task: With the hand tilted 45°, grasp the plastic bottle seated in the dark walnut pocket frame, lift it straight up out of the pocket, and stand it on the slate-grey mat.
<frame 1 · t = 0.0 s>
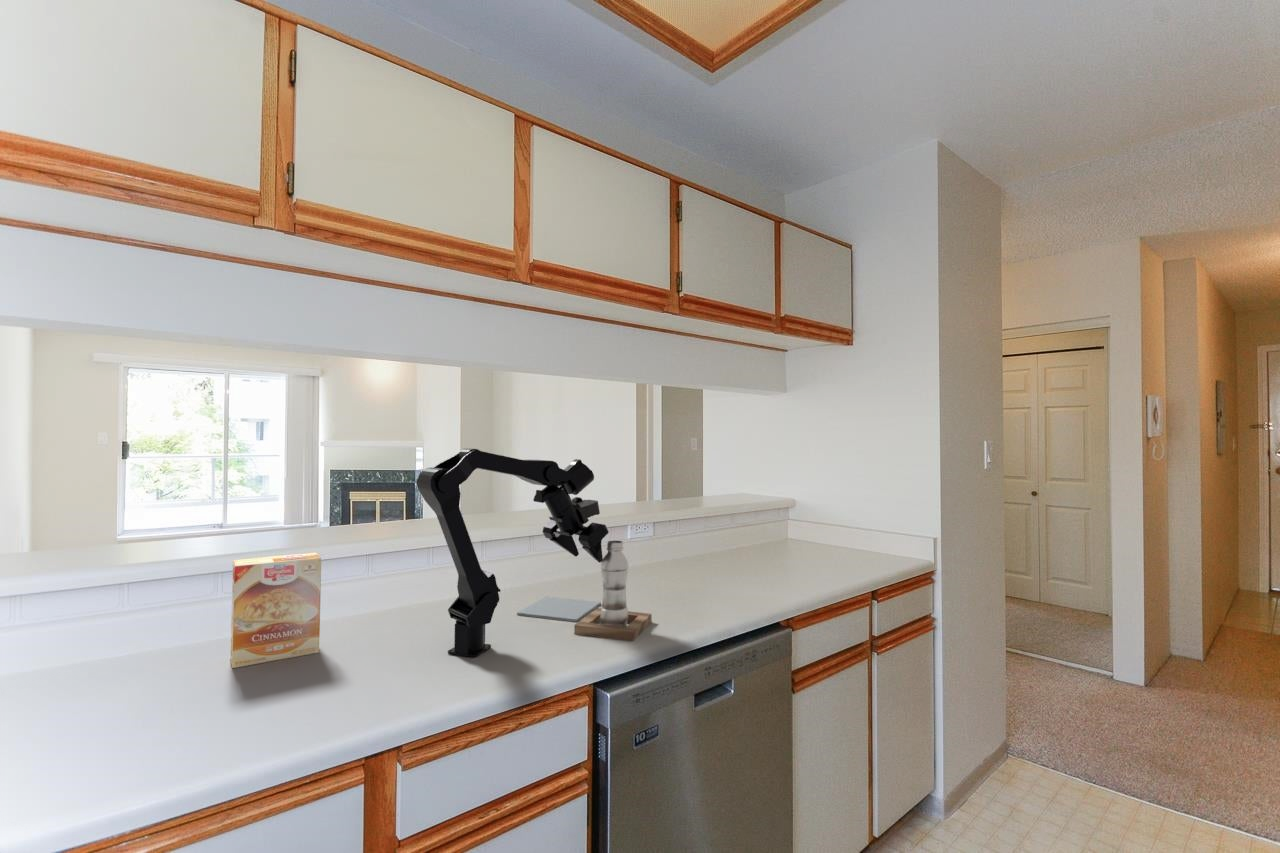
hand: (588, 558, 147), 15 cm above the countertop, tool tilted 35°, fingers open, 9 cm apart
coffeecake box: (275, 656, 121), on the countertop
pocket frame: (614, 627, 141), on the countertop
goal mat: (560, 609, 155), on the countertop
plastic bottle: (614, 628, 141), resting in pocket frame
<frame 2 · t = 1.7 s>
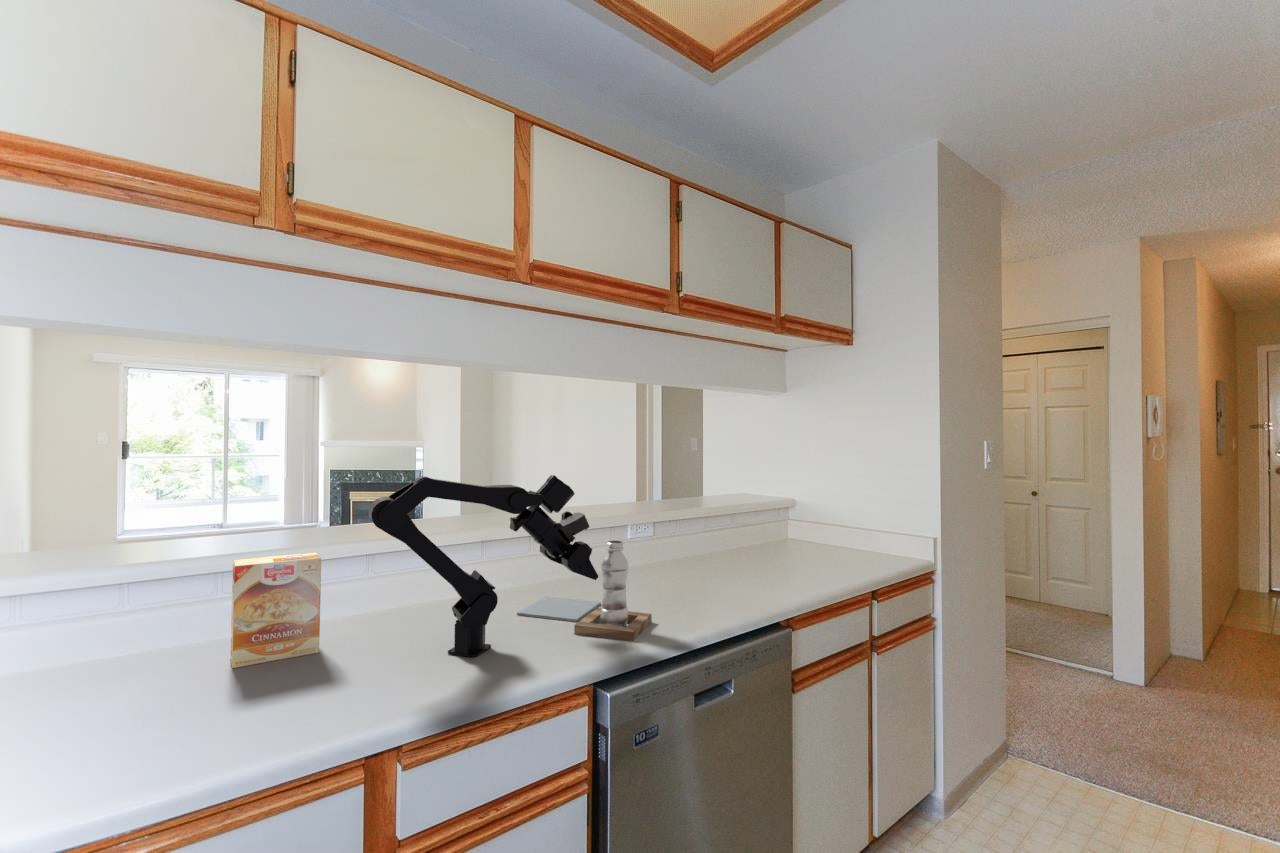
hand: (588, 573, 138), 13 cm above the countertop, tool tilted 45°, fingers open, 9 cm apart
nothing on the countertop moved.
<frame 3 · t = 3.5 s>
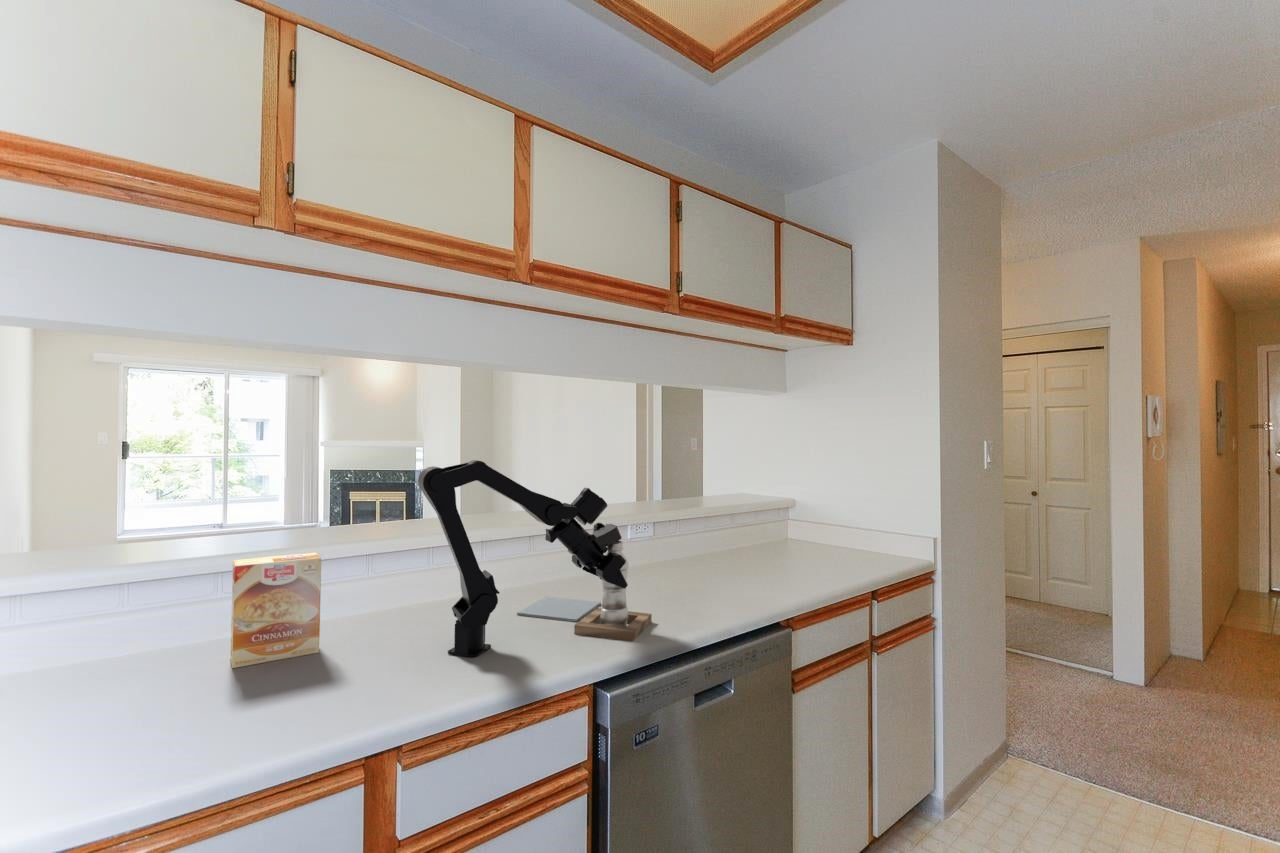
hand: (620, 583, 142), 10 cm above the countertop, tool tilted 45°, fingers closed on plastic bottle, 6 cm apart
plastic bottle: (614, 628, 141), resting in pocket frame, touching gripper
everything else where it was.
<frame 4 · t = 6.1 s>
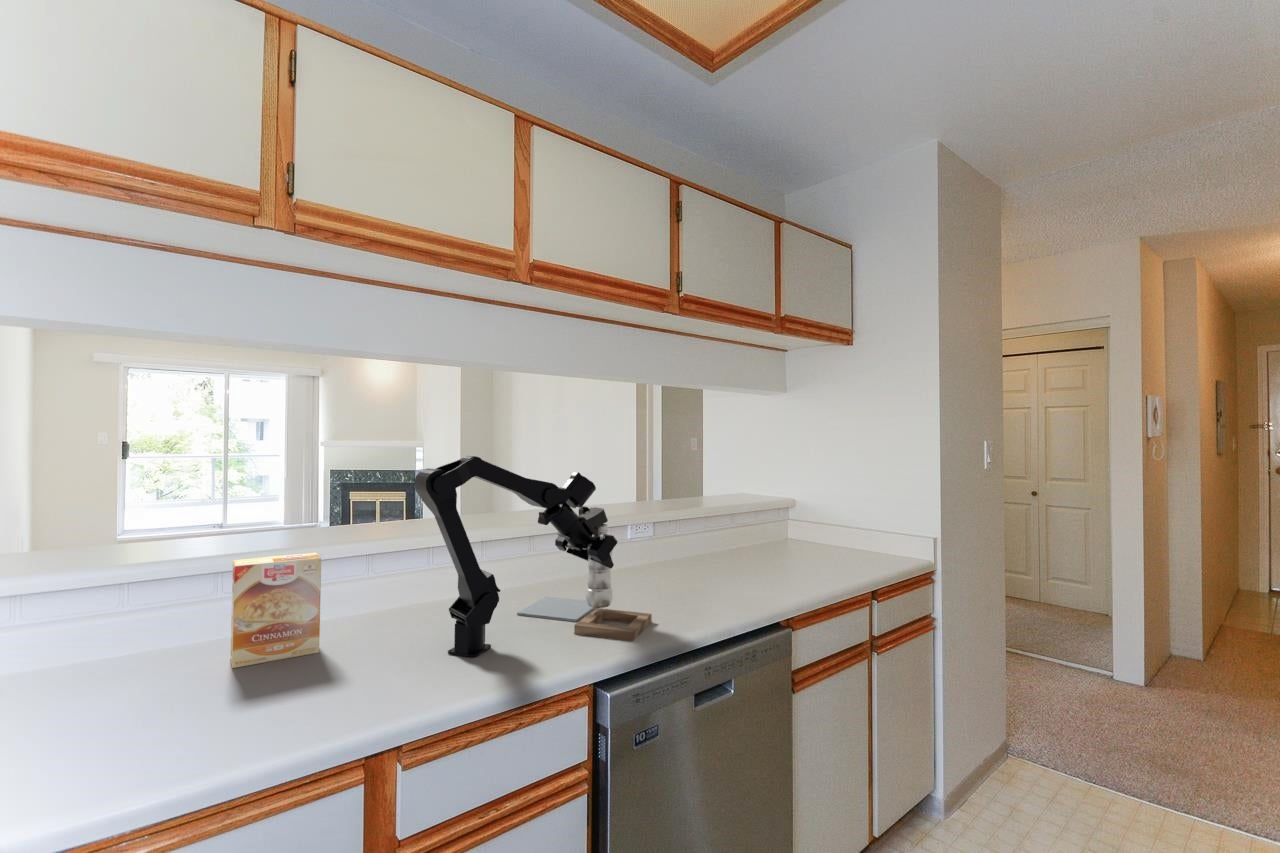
hand: (604, 564, 147), 13 cm above the countertop, tool tilted 45°, fingers closed on plastic bottle, 6 cm apart
plastic bottle: (599, 608, 146), point 3 cm above the countertop, touching gripper
everything else where it was.
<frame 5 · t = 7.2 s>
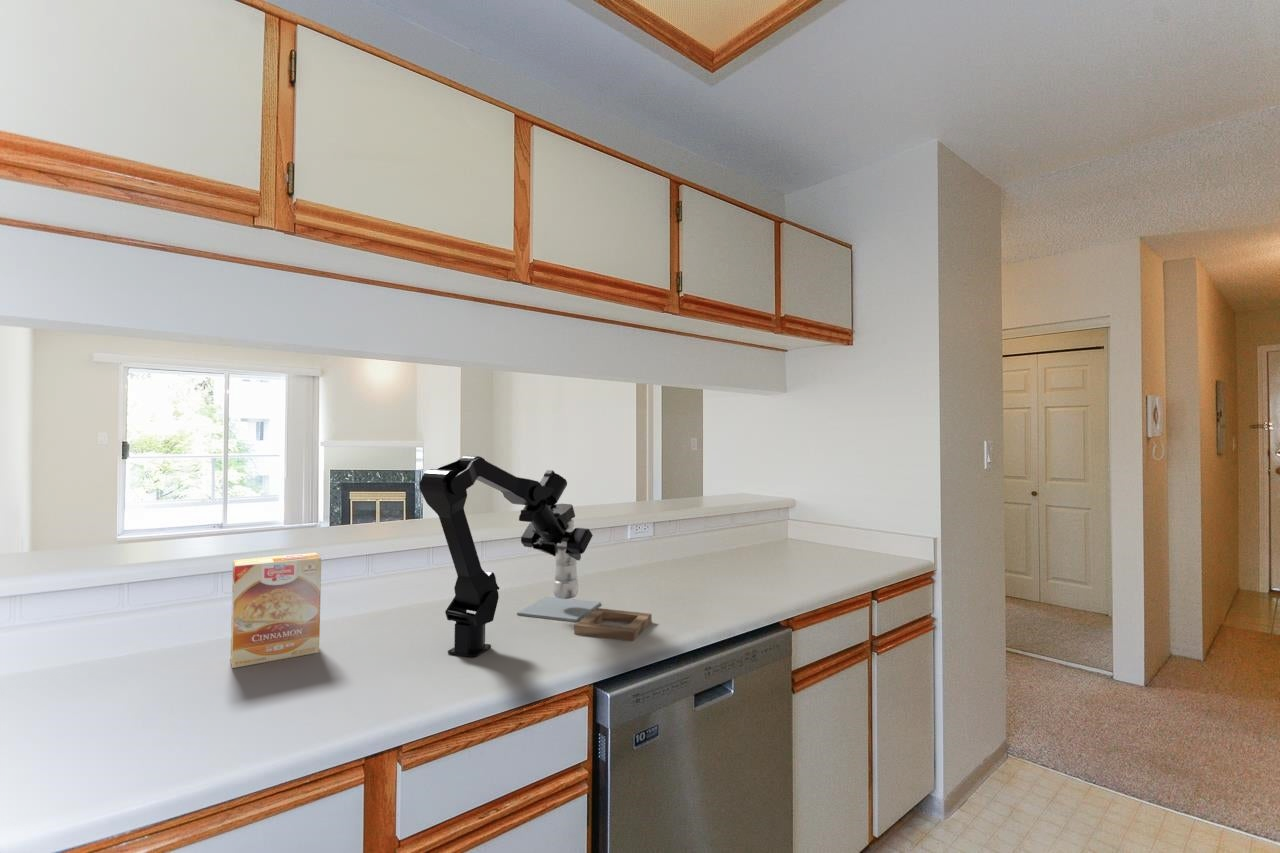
hand: (569, 557, 155), 13 cm above the countertop, tool tilted 45°, fingers closed on plastic bottle, 6 cm apart
plastic bottle: (565, 599, 154), point 3 cm above the countertop, touching gripper
everything else where it was.
when the fingers open (12 cm above the countertop, at t = 8.4 s): plastic bottle drops 1 cm, resting on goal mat.
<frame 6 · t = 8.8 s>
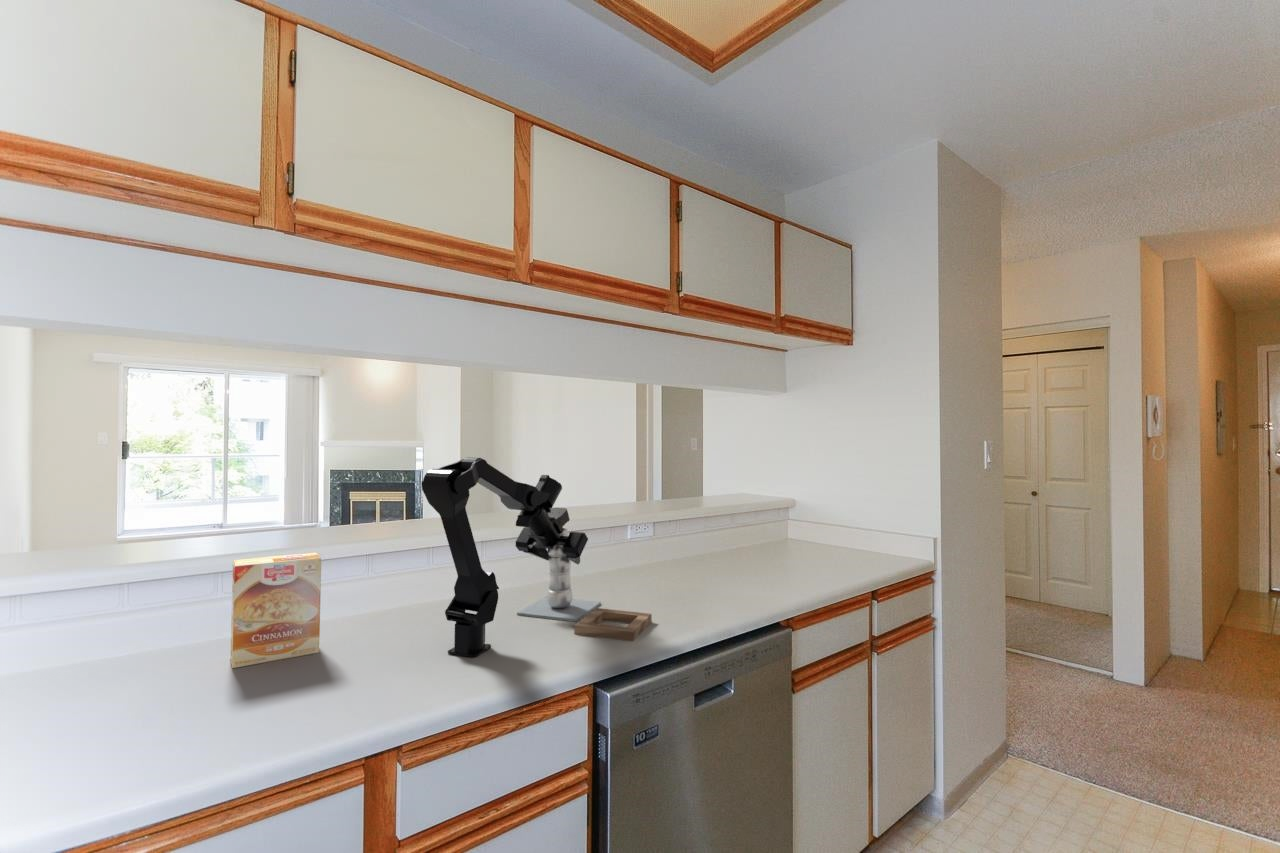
hand: (563, 561, 156), 12 cm above the countertop, tool tilted 45°, fingers open, 9 cm apart
plastic bottle: (559, 608, 155), resting on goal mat
everything else where it was.
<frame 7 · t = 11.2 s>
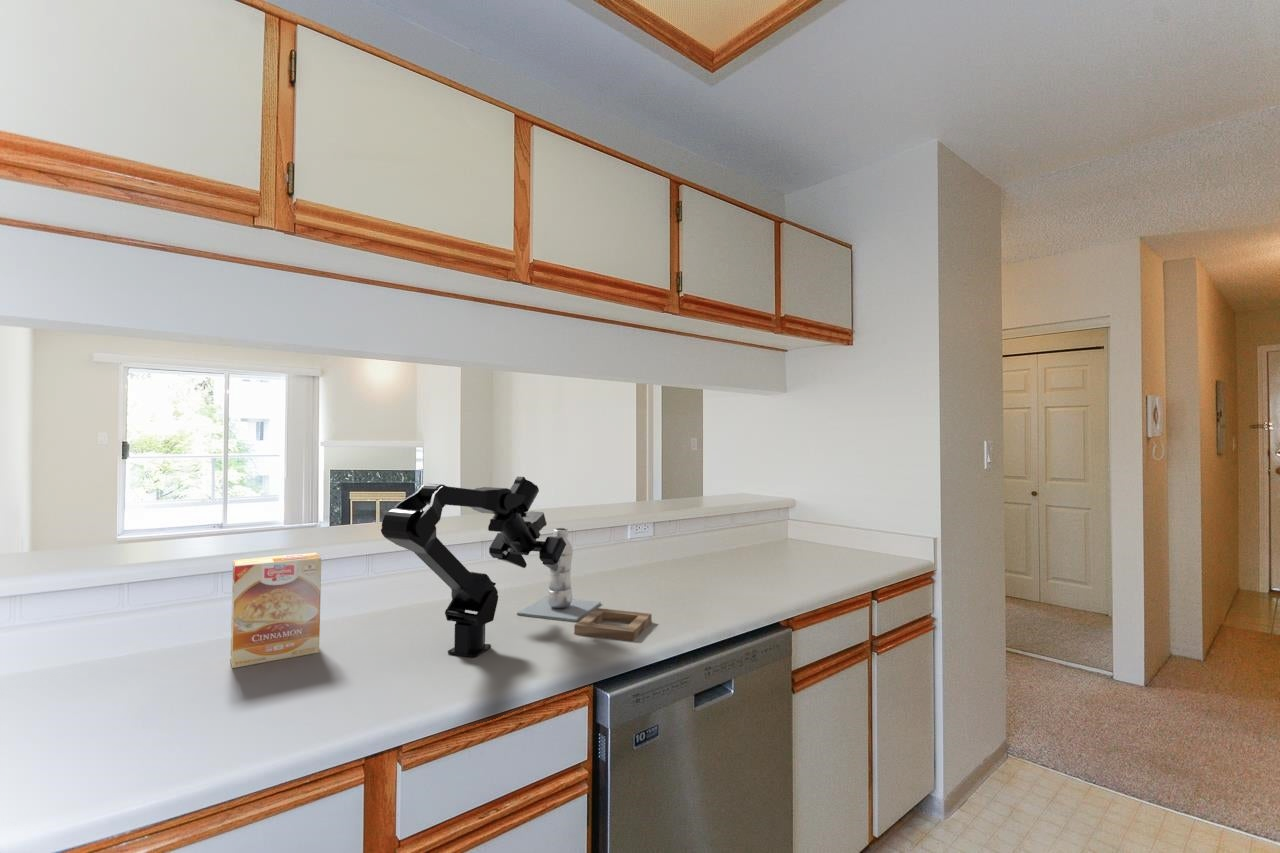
hand: (540, 568, 148), 12 cm above the countertop, tool tilted 45°, fingers open, 9 cm apart
nothing on the countertop moved.
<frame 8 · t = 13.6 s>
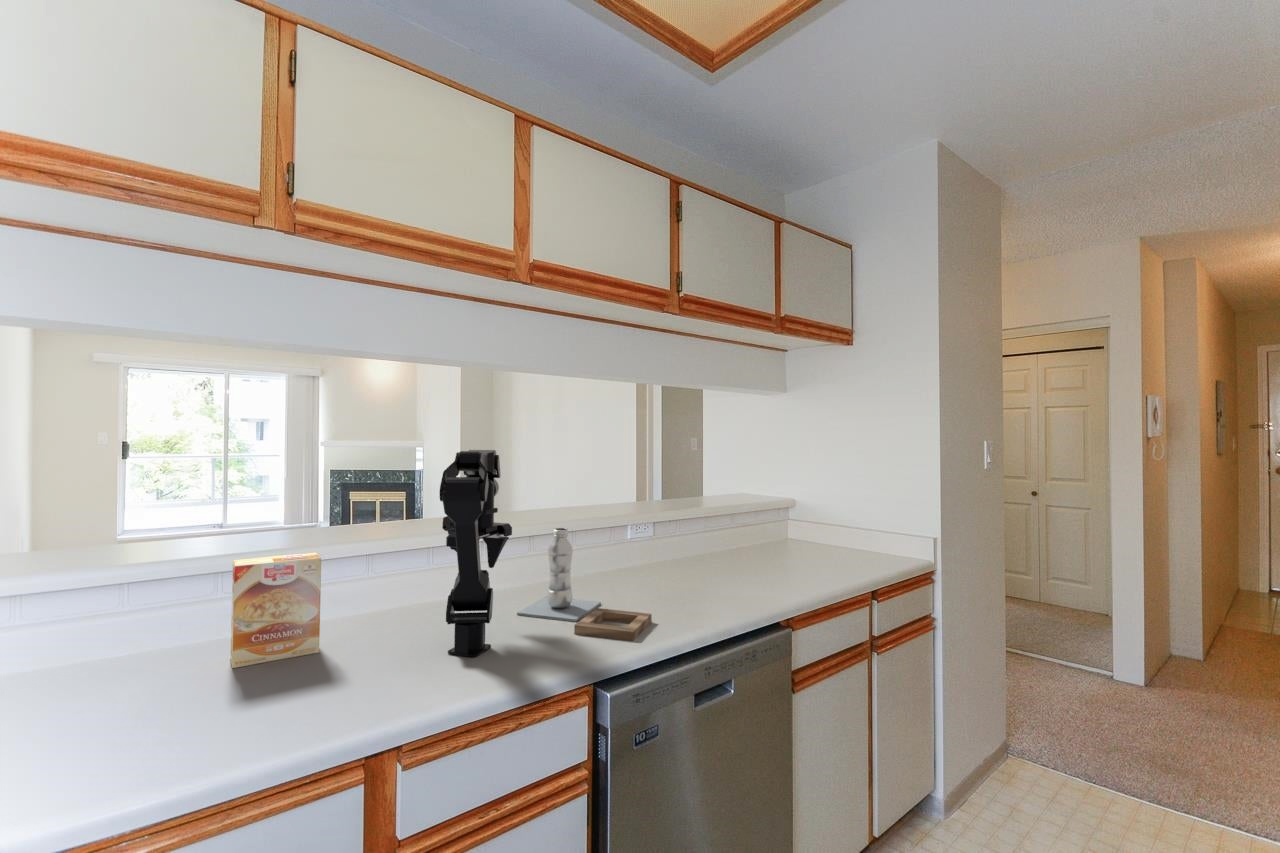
hand: (480, 571, 139), 13 cm above the countertop, tool pointing down, fingers open, 9 cm apart
nothing on the countertop moved.
at the end: plastic bottle inside the target area on the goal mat (0.2 cm from its centre), point 0.4 cm above the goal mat's base; plastic bottle tilted 0°; the gripper is holding nothing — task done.
